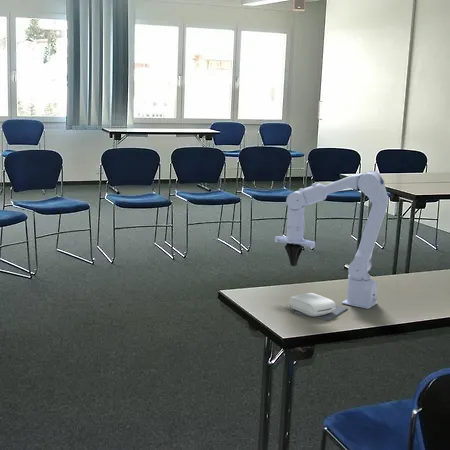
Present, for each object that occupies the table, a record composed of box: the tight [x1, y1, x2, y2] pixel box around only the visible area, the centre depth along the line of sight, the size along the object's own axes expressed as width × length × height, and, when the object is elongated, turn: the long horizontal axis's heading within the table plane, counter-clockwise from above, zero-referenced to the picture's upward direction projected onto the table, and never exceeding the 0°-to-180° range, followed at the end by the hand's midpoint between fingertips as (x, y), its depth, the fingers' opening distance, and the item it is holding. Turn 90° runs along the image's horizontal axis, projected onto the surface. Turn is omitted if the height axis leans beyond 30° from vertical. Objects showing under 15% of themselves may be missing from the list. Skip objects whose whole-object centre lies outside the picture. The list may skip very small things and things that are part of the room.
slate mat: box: [294, 305, 349, 322], centre depth 217 cm, size 12×14×1 cm
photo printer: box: [288, 292, 336, 317], centre depth 215 cm, size 10×4×12 cm
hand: (293, 265), depth 232 cm, fingers closed
